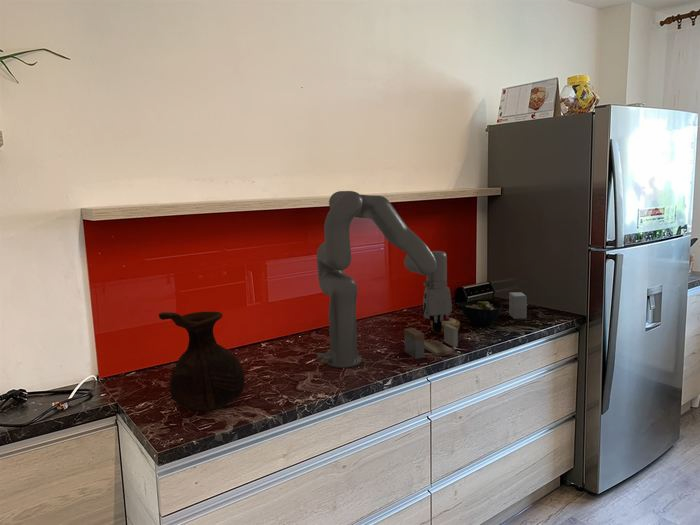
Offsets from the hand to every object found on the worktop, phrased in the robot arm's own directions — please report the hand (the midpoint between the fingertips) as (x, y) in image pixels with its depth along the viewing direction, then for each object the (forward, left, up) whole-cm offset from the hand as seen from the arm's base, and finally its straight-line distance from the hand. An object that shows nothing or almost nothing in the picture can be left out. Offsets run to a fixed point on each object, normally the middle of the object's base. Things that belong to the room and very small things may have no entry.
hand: (437, 331), depth 200 cm
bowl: (+32, +19, -6) cm, 38 cm away
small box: (+53, +22, -6) cm, 58 cm away
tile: (+6, 0, -6) cm, 8 cm away
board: (-2, -4, -6) cm, 7 cm away
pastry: (+12, +15, -6) cm, 20 cm away
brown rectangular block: (-12, -5, -6) cm, 14 cm away
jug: (-86, -19, -6) cm, 88 cm away
